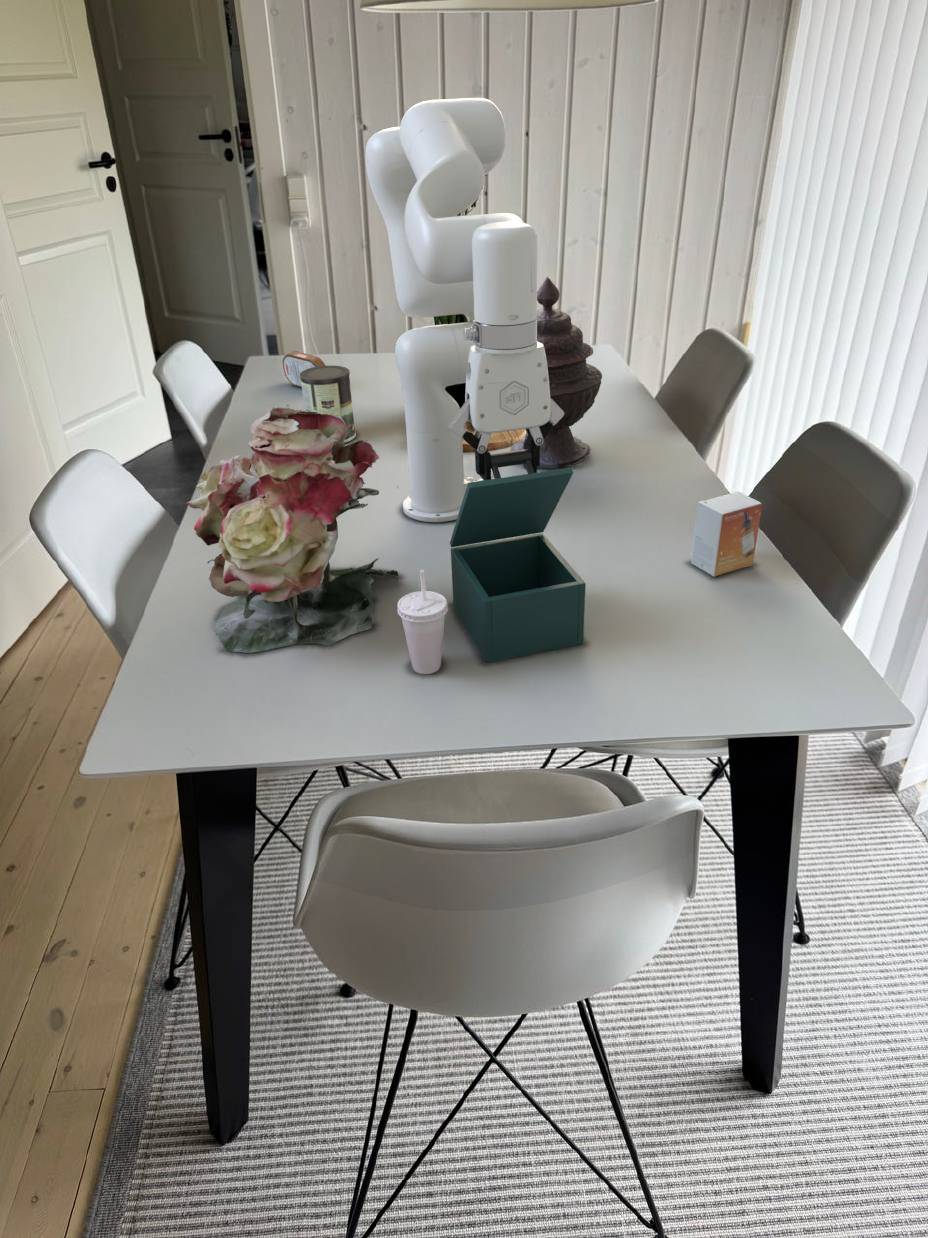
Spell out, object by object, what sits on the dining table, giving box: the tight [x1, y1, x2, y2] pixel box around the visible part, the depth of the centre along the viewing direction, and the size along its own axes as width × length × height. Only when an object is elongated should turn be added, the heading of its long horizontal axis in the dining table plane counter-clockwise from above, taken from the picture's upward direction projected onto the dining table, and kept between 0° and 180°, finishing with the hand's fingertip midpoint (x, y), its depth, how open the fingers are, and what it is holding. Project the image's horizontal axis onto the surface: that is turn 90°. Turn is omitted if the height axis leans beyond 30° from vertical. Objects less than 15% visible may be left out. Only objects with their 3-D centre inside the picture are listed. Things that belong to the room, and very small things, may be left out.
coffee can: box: [300, 365, 357, 444], centre depth 190 cm, size 10×10×14 cm
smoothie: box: [397, 569, 449, 675], centre depth 115 cm, size 6×6×14 cm
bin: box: [450, 532, 587, 664], centre depth 125 cm, size 16×14×9 cm
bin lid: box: [449, 449, 574, 548], centre depth 122 cm, size 17×14×5 cm
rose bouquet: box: [185, 404, 400, 654], centre depth 124 cm, size 26×29×30 cm
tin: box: [282, 350, 327, 389], centre depth 223 cm, size 15×3×8 cm, turn 49°
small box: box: [690, 490, 763, 578], centre depth 137 cm, size 8×6×10 cm
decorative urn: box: [509, 276, 603, 470], centre depth 171 cm, size 20×20×35 cm
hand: (507, 473), depth 118 cm, fingers closed on bin lid, 5 cm apart
